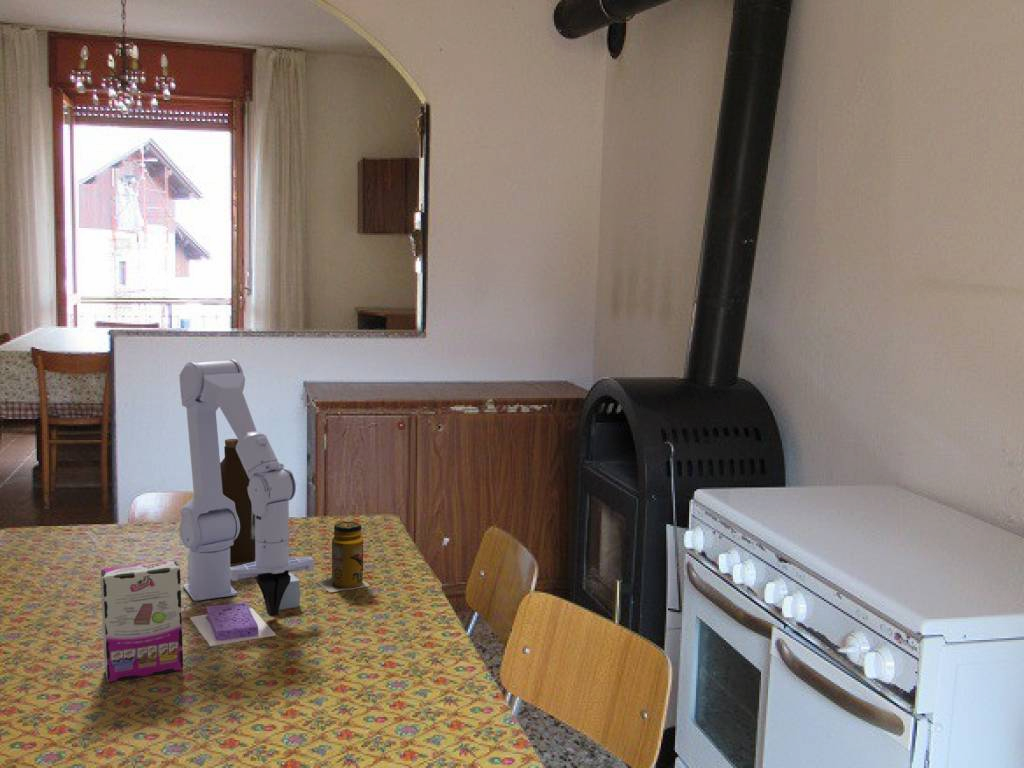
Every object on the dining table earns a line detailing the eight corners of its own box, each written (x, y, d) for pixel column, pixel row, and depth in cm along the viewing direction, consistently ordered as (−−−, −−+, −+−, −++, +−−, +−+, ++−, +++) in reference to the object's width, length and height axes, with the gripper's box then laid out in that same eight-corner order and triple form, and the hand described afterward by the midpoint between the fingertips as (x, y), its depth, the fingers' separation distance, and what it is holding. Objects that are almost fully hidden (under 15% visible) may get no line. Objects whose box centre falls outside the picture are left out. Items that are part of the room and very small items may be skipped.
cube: (264, 602, 191) (264, 576, 190) (291, 598, 193) (290, 572, 193) (272, 611, 187) (272, 584, 186) (299, 607, 189) (299, 580, 188)
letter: (189, 617, 182) (189, 617, 182) (251, 608, 188) (251, 607, 188) (210, 646, 169) (210, 645, 169) (276, 635, 175) (276, 634, 175)
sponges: (246, 611, 186) (246, 601, 185) (259, 635, 174) (258, 625, 174) (206, 616, 183) (206, 606, 183) (216, 641, 171) (215, 630, 171)
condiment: (370, 586, 201) (371, 526, 200) (330, 593, 197) (330, 531, 195) (354, 576, 207) (355, 517, 206) (315, 582, 203) (315, 523, 201)
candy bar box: (178, 659, 164) (176, 558, 162) (184, 670, 159) (182, 567, 157) (102, 671, 159) (99, 567, 157) (106, 683, 154) (103, 576, 152)
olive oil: (206, 565, 212) (204, 445, 209) (209, 550, 222) (207, 435, 219) (259, 563, 214) (258, 444, 211) (260, 548, 225) (259, 435, 222)
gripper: (236, 549, 173) (237, 627, 175) (319, 539, 180) (319, 614, 182) (225, 539, 179) (226, 614, 181) (306, 529, 186) (306, 602, 188)
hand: (272, 614), depth 182 cm, fingers closed
